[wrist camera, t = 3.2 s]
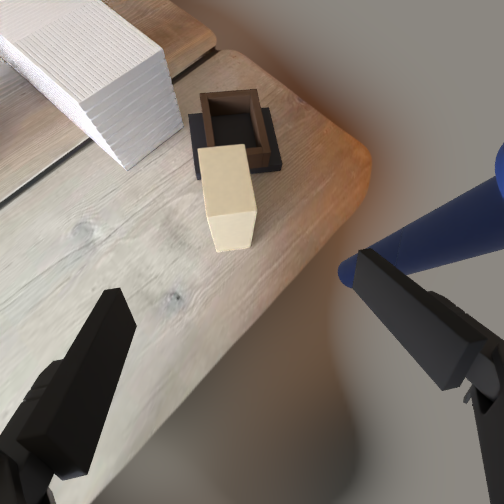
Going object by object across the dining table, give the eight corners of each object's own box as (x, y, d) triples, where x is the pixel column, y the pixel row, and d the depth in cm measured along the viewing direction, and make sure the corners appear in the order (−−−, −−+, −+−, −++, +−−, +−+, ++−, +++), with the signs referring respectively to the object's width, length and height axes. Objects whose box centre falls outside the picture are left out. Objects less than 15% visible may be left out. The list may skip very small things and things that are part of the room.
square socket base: (267, 114, 37) (271, 87, 33) (280, 171, 35) (287, 150, 30) (189, 121, 36) (183, 94, 32) (197, 181, 33) (191, 160, 29)
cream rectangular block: (241, 199, 33) (244, 143, 23) (250, 247, 31) (257, 210, 21) (209, 203, 33) (197, 148, 22) (216, 252, 31) (206, 217, 20)
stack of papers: (183, 126, 36) (162, 48, 26) (127, 171, 33) (78, 103, 23) (49, 16, 40) (-15, -90, 30) (-10, 47, 38) (-103, -56, 27)
